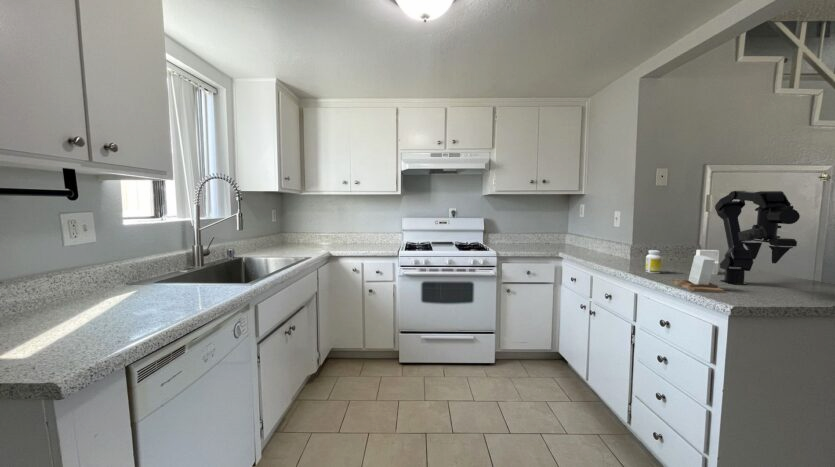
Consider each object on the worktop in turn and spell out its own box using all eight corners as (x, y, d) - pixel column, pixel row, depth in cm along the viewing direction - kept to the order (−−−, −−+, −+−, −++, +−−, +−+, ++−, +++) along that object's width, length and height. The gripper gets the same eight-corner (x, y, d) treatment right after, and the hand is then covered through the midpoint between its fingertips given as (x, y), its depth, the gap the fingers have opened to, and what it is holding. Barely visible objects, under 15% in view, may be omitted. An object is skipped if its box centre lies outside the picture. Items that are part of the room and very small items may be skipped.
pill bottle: (663, 273, 161) (665, 251, 160) (651, 273, 161) (652, 251, 160) (654, 271, 167) (655, 249, 166) (642, 271, 167) (643, 249, 166)
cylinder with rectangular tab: (701, 274, 160) (703, 251, 159) (690, 270, 168) (692, 248, 167) (722, 275, 158) (724, 251, 156) (710, 271, 166) (712, 249, 165)
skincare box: (708, 286, 131) (715, 260, 128) (697, 286, 132) (704, 259, 128) (698, 281, 137) (705, 255, 134) (687, 280, 137) (694, 254, 134)
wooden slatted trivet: (672, 283, 142) (672, 278, 142) (699, 284, 140) (700, 279, 140) (693, 291, 128) (694, 286, 128) (724, 292, 126) (725, 287, 126)
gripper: (725, 221, 134) (722, 256, 136) (765, 223, 116) (760, 265, 118) (755, 221, 133) (751, 257, 134) (800, 224, 114) (795, 266, 116)
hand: (763, 261), depth 125 cm, fingers open, 9 cm apart
